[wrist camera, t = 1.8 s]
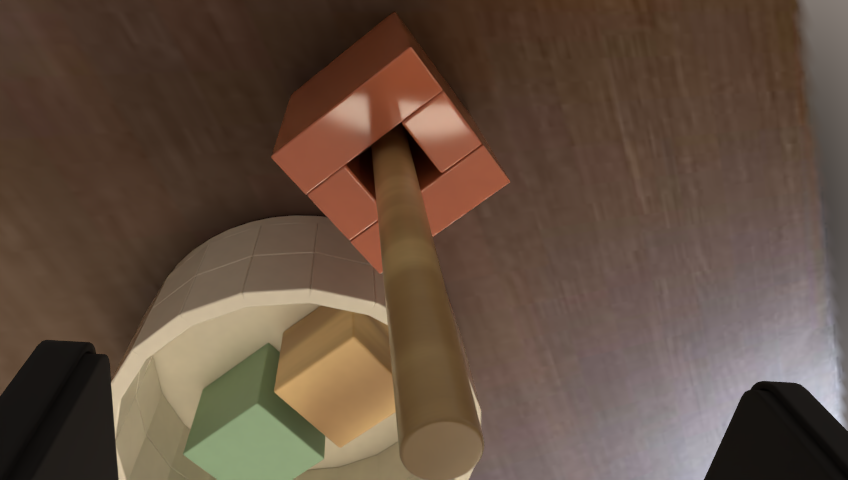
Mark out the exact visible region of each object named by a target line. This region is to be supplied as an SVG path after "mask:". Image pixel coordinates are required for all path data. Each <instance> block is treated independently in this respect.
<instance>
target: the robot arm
mask: <svg viewBox="0 0 848 480" xmlns="http://www.w3.org/2000/svg"><path fill="white" fill-rule="evenodd" d="M0 480H119V478H118V465H117V453H116V440H115V427H114V414H113V401H112V388H111V376H110V363H109V358H108V356H107V355H105V354H96V352H95V348H94V346H93V344H92V343H90V342H73V341H55V340H45V341H42V342H41V343H40V344H39V345H38V346H37V347H36V349H35V350H34V351H33V353H32V354H31V355H30V357H29V358H28V359H27V361H26V362H25V363H24V365H23V366H22V368H21V369H20V370H19V372H18V373H17V374H16V376H15V377H14V378H13V380H12V381H11V382H10V384H9V385H8V387H7V388H6V389H5V391H4V392H3V393H2V395H1V396H0ZM704 480H848V431H847V430H846V429H845V428H844V427H843V426H842V425H841V424H840V423H839V422H838V421H837V420H836V419H835V418H834V417H833V416H832V415H831V414H830V413H829V412H828V411H827V410H826V409H825V408H824V407H823V406H822V405H821V404H820V403H819V402H818V401H817V400H816V399H815V397H814V396H813V395H812V394H811V393H810V392H809V391H808V390H807V389H805V388H804V387H803V386H801V385H800V384H796V383H787V382H770V381H762V382H758V383H756V384H755V385H753V387H752V388H751V390H748V391H747V392H745V393H744V394H743V396H742V397H741V400H740V402H739V404H738V406H737V408H736V411H735V413H734V415H733V417H732V419H731V422H730V424H729V426H728V428H727V430H726V433H725V435H724V437H723V439H722V441H721V444H720V446H719V448H718V450H717V452H716V455H715V457H714V459H713V461H712V463H711V466H710V468H709V470H708V472H707V474H706V477H705V479H704Z"/></svg>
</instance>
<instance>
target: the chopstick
mask: <svg viewBox="0 0 848 480" xmlns="http://www.w3.org/2000/svg"><path fill="white" fill-rule="evenodd" d="M371 148H372V159H373V170H374V181H375V192H376V203H377V214H378V225H379V236H380V247H381V258H382V269H383V280H384V291H385V302H386V313H387V324H388V334H389V345H390V356H391V367H392V378H393V389H394V400H395V411H396V422H397V433H398V444H399V455H400V459H401V461H402V463H403V465H404V466H405V468H406V469H407V470H408V471H409V472H410V473H411V474H413V475H414V476H416V477H418V478H421V479H424V480H451V479H455V478H458V477H460V476H462V475H464V474H466V473H467V472H469V471H470V470H471V469H473V468H474V467H475V466H476V465H477V463H478V462H479V460H480V459H481V457H482V454H483V451H484V438H483V434H482V430H481V426H480V422H479V418H478V414H477V410H476V406H475V402H474V398H473V394H472V390H471V386H470V383H469V379H468V375H467V371H466V367H465V363H464V359H463V355H462V351H461V347H460V343H459V339H458V335H457V331H456V328H455V324H454V320H453V316H452V312H451V308H450V304H449V300H448V296H447V292H446V288H445V284H444V280H443V276H442V272H441V269H440V265H439V261H438V257H437V253H436V249H435V245H434V241H433V237H432V233H431V229H430V225H429V221H428V217H427V214H426V210H425V206H424V202H423V198H422V194H421V190H420V186H419V182H418V178H417V174H416V170H415V166H414V162H413V158H412V155H411V151H410V147H409V143H408V139H407V135H406V131H405V127H404V126H403V125H402V122H401V123H399V124H398V125H397V126H395V127H394V128H393V129H391V130H390V131H389V132H388V133H386V134H385V135H384V136H382V137H381V138H380V139H378V140H377V141H376V142H374V143H373V144H372V145H371Z"/></svg>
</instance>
